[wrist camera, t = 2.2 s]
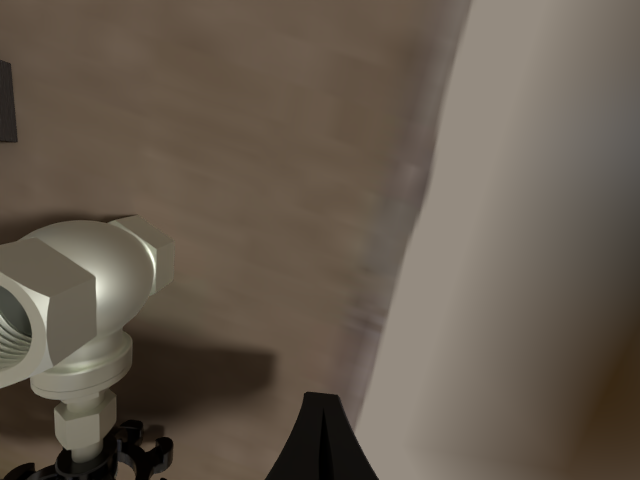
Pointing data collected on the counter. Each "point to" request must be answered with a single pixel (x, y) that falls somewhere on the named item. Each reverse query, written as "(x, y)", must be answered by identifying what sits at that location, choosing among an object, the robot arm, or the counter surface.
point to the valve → (82, 336)
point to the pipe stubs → (7, 104)
